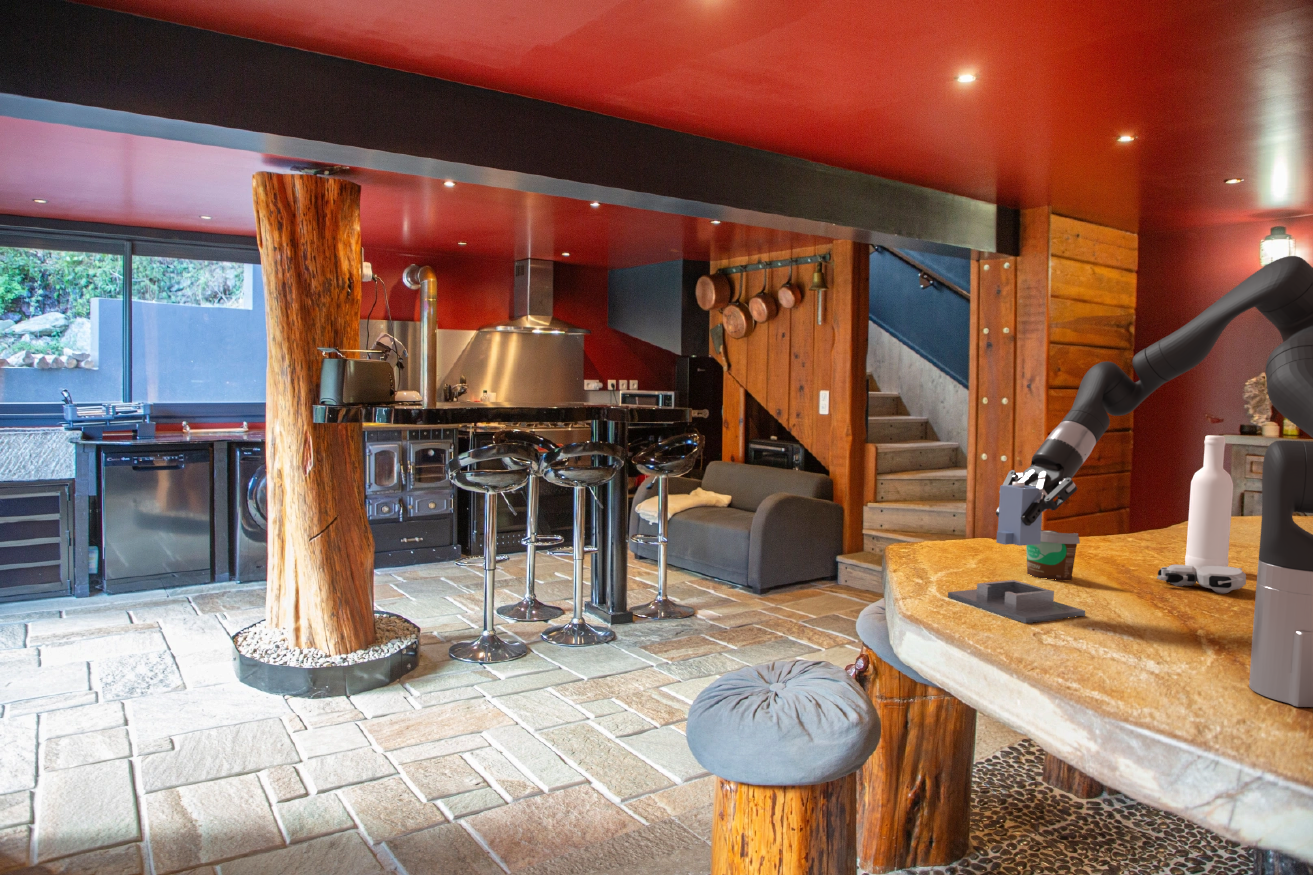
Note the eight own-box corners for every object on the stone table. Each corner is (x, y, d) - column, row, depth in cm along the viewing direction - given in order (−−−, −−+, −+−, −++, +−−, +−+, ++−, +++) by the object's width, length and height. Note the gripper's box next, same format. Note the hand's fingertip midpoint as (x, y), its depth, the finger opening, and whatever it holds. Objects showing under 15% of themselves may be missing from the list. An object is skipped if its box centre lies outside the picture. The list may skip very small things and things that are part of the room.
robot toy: (1155, 592, 171) (1246, 599, 162) (1155, 570, 171) (1246, 575, 162) (1159, 581, 181) (1245, 587, 172) (1159, 560, 181) (1245, 564, 172)
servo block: (1040, 544, 151) (1043, 483, 150) (1011, 546, 148) (1015, 484, 147) (1017, 538, 155) (1021, 480, 154) (989, 540, 152) (993, 481, 152)
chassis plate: (1084, 616, 147) (1086, 596, 147) (1025, 623, 142) (1026, 603, 141) (1003, 591, 164) (1004, 573, 163) (947, 597, 158) (948, 578, 158)
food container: (1007, 571, 182) (1010, 525, 181) (1028, 569, 185) (1030, 523, 184) (1056, 584, 171) (1059, 535, 170) (1077, 582, 174) (1080, 533, 173)
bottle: (1176, 567, 190) (1185, 434, 188) (1202, 566, 193) (1212, 434, 191) (1208, 575, 183) (1218, 437, 181) (1236, 574, 185) (1246, 437, 183)
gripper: (1108, 469, 150) (1055, 541, 146) (1041, 461, 163) (991, 527, 159) (1088, 440, 147) (1034, 511, 143) (1022, 434, 160) (970, 500, 156)
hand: (1011, 519), depth 151 cm, fingers closed on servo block, 5 cm apart
